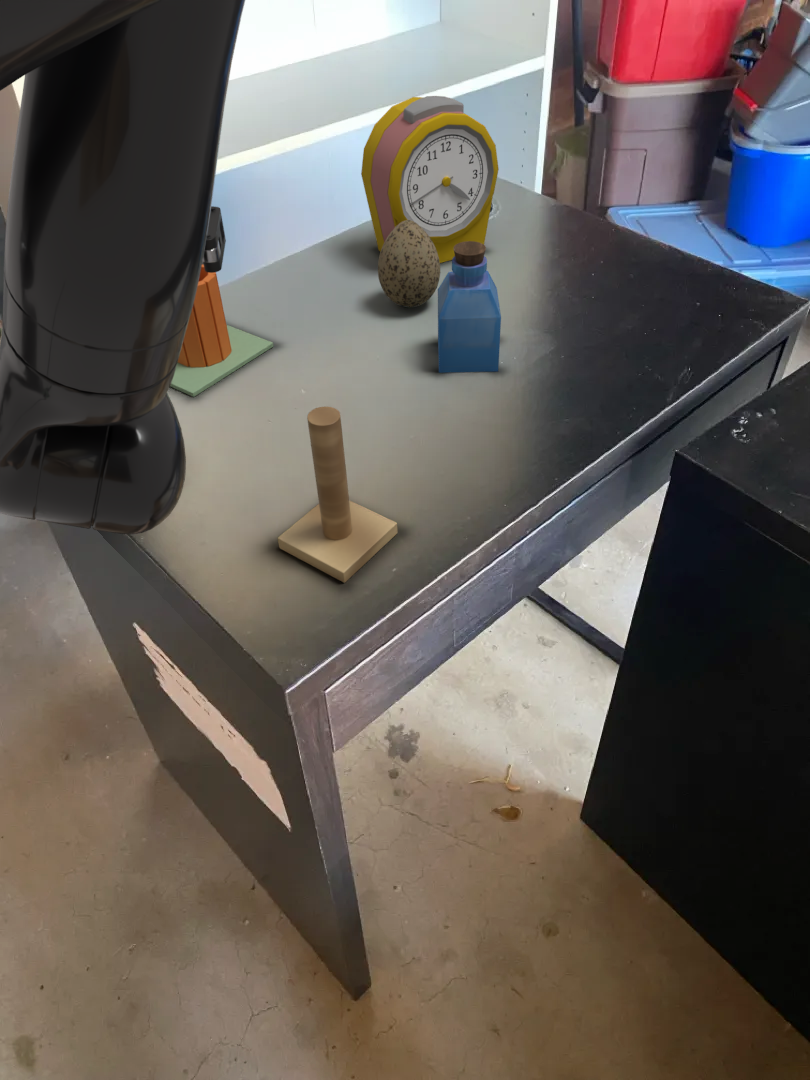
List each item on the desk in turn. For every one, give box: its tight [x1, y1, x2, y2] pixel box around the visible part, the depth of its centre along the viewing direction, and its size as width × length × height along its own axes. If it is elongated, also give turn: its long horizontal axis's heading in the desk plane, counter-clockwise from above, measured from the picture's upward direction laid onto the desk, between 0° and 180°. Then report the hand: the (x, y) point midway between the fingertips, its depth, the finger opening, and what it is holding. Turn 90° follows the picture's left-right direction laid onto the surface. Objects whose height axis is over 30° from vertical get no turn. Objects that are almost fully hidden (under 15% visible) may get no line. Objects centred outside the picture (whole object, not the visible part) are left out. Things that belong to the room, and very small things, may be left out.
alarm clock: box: [360, 95, 500, 264], centre depth 101 cm, size 15×8×18 cm, turn 118°
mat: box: [170, 324, 274, 398], centre depth 90 cm, size 12×10×1 cm
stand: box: [277, 406, 398, 584], centre depth 64 cm, size 7×7×12 cm
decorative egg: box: [377, 220, 441, 308], centre depth 94 cm, size 7×7×10 cm
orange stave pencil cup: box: [178, 265, 232, 367], centre depth 87 cm, size 6×6×9 cm
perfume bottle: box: [437, 241, 502, 374], centre depth 84 cm, size 6×6×12 cm
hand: (132, 206), depth 65 cm, fingers open, 8 cm apart
